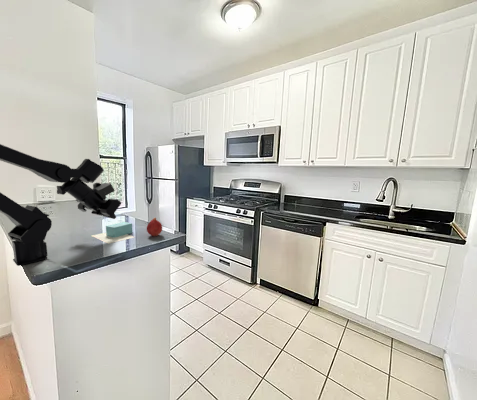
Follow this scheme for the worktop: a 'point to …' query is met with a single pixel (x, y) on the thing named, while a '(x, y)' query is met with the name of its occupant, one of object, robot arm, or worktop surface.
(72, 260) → the worktop surface
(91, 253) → the worktop surface
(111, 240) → the mat
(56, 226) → the worktop surface
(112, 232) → the block
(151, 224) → the onion
